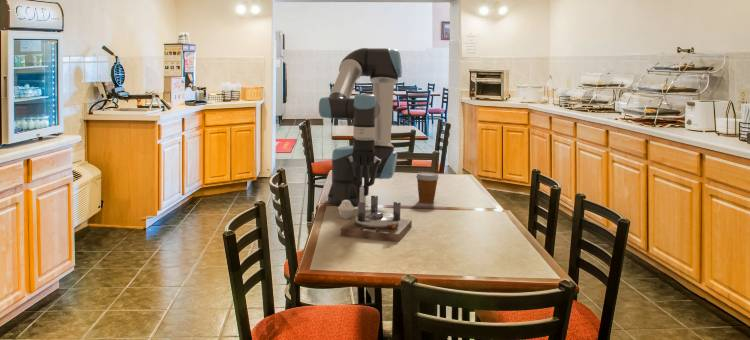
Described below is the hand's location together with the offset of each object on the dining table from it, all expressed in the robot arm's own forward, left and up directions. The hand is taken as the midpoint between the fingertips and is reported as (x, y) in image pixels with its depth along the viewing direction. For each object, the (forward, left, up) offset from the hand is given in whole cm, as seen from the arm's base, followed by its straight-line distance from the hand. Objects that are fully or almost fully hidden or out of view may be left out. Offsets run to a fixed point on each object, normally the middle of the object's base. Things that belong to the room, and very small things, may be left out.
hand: (362, 204), depth 213 cm
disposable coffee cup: (+14, +47, -8) cm, 50 cm away
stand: (+7, -6, -8) cm, 12 cm away
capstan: (+8, -6, -5) cm, 11 cm away
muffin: (-9, +8, -8) cm, 14 cm away
